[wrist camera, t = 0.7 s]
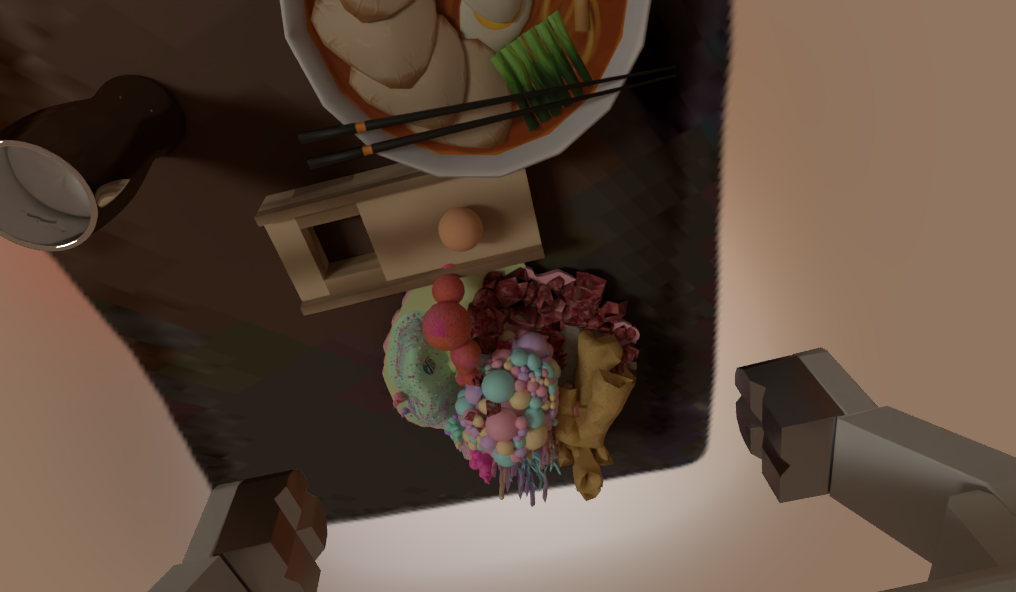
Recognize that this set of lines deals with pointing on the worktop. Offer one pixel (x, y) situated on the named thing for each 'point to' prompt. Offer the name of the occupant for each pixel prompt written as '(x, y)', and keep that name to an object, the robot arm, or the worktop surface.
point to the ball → (460, 229)
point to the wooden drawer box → (397, 231)
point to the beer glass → (83, 161)
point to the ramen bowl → (464, 76)
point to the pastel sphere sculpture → (515, 370)
